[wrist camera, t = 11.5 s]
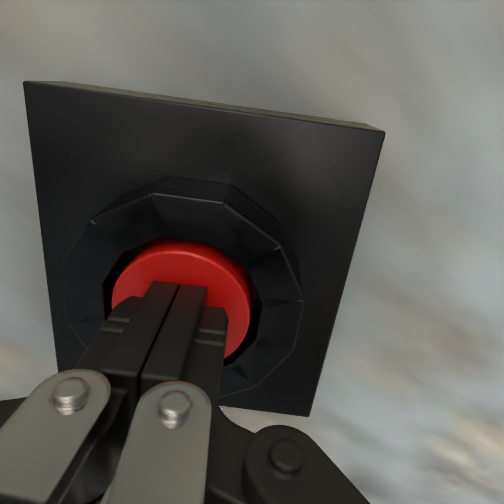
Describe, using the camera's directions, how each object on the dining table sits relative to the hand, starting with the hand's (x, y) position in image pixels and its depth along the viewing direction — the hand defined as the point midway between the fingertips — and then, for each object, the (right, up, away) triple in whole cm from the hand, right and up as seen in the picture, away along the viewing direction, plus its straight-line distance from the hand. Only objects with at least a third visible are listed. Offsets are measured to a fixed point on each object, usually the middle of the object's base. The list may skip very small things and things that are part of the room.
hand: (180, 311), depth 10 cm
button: (0, +1, +2) cm, 2 cm away
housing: (0, +2, +4) cm, 4 cm away
